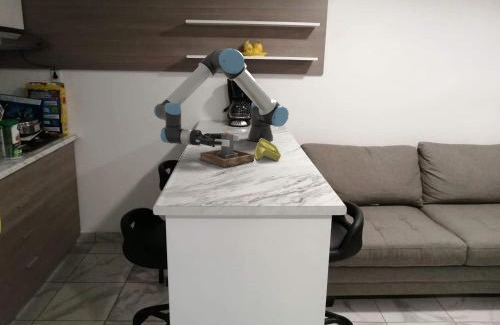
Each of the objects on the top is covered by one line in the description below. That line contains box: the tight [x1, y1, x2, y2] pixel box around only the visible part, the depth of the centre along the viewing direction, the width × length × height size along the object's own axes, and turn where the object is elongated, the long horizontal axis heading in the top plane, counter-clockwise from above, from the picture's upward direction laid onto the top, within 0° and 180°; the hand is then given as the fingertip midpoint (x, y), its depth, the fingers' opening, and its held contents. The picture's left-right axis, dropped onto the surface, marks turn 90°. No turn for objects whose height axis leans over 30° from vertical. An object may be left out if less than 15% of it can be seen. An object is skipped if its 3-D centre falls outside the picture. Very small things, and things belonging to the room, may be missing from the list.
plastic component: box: [253, 138, 282, 162], centre depth 194 cm, size 20×7×10 cm
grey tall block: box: [220, 131, 234, 155], centre depth 182 cm, size 4×4×13 cm
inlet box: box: [199, 148, 255, 169], centre depth 184 cm, size 18×18×4 cm
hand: (234, 140), depth 181 cm, fingers open, 13 cm apart
